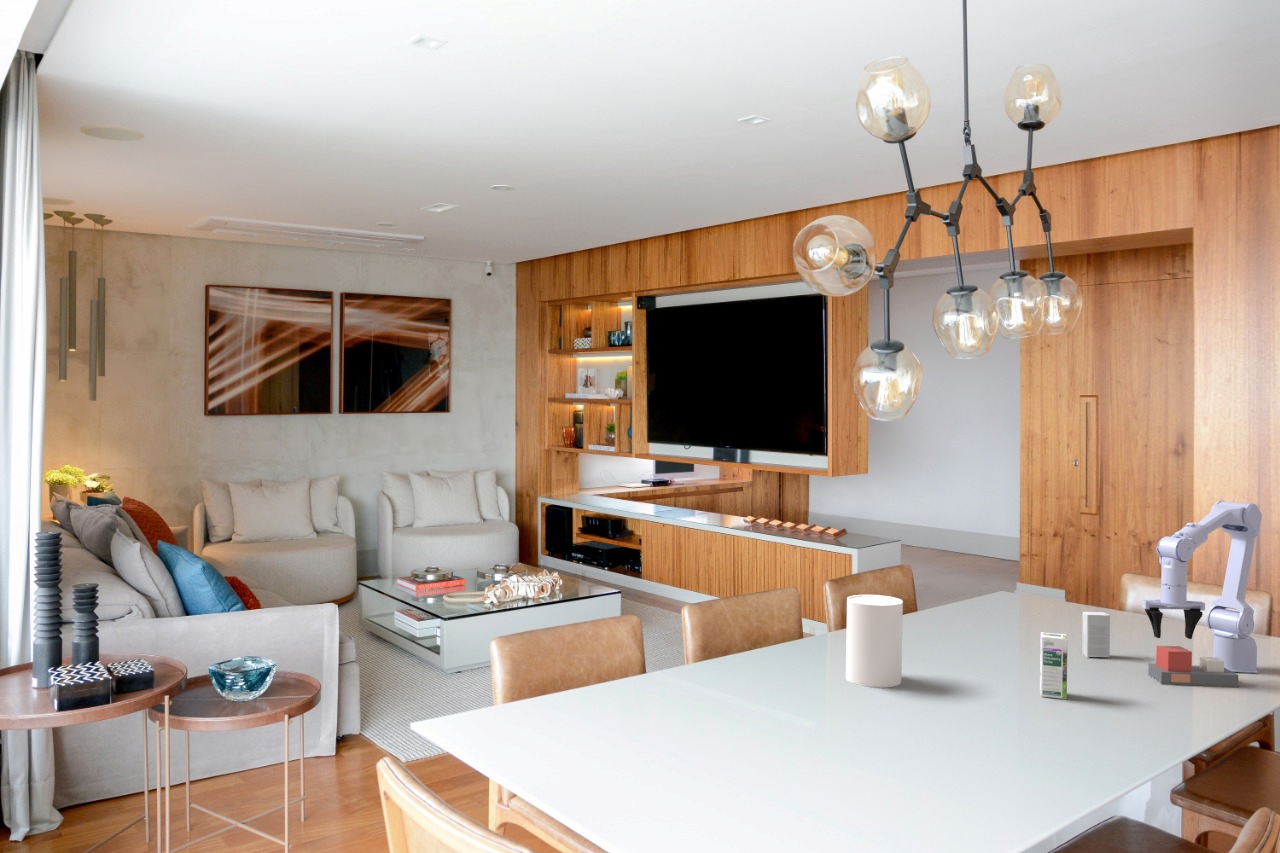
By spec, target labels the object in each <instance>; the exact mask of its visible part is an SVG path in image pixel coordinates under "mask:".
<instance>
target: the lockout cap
mask: <svg viewBox="0 0 1280 853" xmlns="http://www.w3.org/2000/svg"><path fill="white" fill-rule="evenodd" d="M1155 654H1156V655H1155V657H1156V658H1155V659H1156V660H1155V662H1156V663H1155V664H1156V665H1157V666H1159V667H1161V668H1163V669H1164V670H1166V671H1175V672H1192V665H1193V651H1191V650H1189V649H1186V648H1184V647H1182V646H1180V645H1156V651H1155Z"/></svg>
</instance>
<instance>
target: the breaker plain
mask: <svg viewBox="0 0 1280 853" xmlns="http://www.w3.org/2000/svg"><path fill="white" fill-rule="evenodd" d="M1199 666H1200V669H1202V670H1203V671H1205V672H1216V673H1224V661H1223V660H1221V659H1219V658H1217V657H1213V656H1199Z"/></svg>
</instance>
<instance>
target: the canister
mask: <svg viewBox="0 0 1280 853" xmlns="http://www.w3.org/2000/svg"><path fill="white" fill-rule="evenodd" d="M903 602H904V601H903V600H902V599H901V598H897V597H893V596H889V595H883V594H881V595H880V594H857V595H856V594H855V595H850V596H847V597H846V633H845V634H846V635H845V636H846V639H845V643H846V645H845V647H846V648H845V651H846V652H845V656H846V657H845V679H846V681H848V682H850V683H851V684H854V685H857V686H858V685H859V686H863V687H869V688H892V687H897V686H899V685H901V684H902V675H903V674H902V671H903V670H902V669H903V668H902V667H903V666H902V664H903V663H902V662H903V661H902V660H903V659H902V658H903V617H904V616H903V608H904V606H903V605H904V603H903Z"/></svg>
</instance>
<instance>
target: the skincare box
mask: <svg viewBox="0 0 1280 853" xmlns="http://www.w3.org/2000/svg"><path fill="white" fill-rule="evenodd" d="M1081 615H1082V624H1081V625H1082V627H1081V628H1082V631H1081V632H1082V637H1081V638H1082V640H1081V644H1082V645H1081V647H1082V652H1081V653H1082V654H1081V655H1083V654H1084V655H1085V656H1084V655H1083V656H1084V657H1085V658H1087V657H1108V658H1107V659H1110V650H1111V649H1110V647H1111V646H1110V641H1111V639H1110V638H1111V634H1110V633H1111V631H1110V630H1111V628H1110V627H1111V626H1110V624H1111V621H1110V620H1111V615H1110V614H1109V613H1106V612H1105V611H1103V612H1102V611H1082V614H1081Z"/></svg>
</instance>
